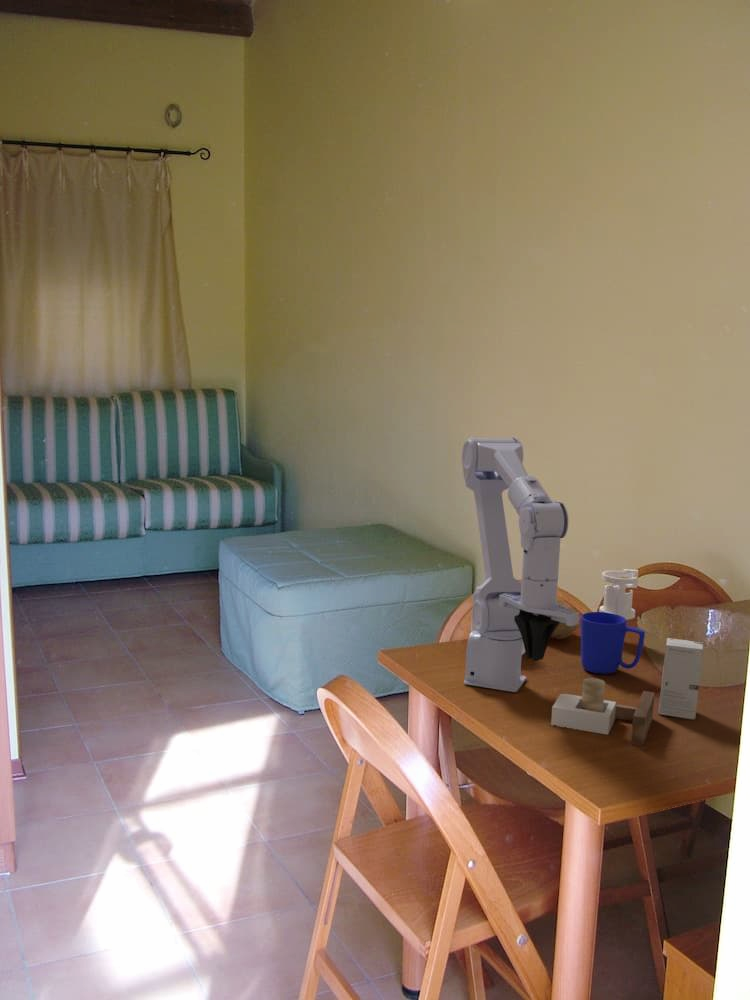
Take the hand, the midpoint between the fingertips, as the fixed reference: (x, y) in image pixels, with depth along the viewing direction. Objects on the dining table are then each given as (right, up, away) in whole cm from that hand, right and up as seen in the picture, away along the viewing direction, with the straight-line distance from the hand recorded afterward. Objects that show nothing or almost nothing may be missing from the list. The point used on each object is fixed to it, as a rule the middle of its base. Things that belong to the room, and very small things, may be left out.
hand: (534, 658), depth 170 cm
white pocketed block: (+8, -10, -1) cm, 13 cm away
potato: (+10, -3, +44) cm, 45 cm away
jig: (+10, -10, -2) cm, 15 cm away
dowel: (+9, -10, -2) cm, 13 cm away
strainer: (+23, -3, +43) cm, 48 cm away
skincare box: (+24, -10, +4) cm, 27 cm away
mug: (+17, -6, +24) cm, 30 cm away
